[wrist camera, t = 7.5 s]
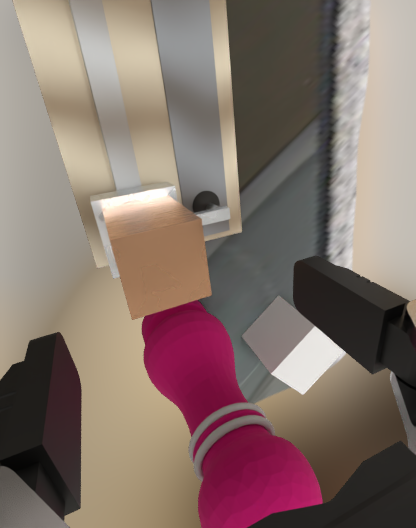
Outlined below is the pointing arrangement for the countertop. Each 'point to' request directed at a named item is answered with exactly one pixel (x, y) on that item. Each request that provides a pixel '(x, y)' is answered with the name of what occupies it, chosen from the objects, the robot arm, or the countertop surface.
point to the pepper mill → (223, 423)
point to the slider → (155, 246)
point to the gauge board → (138, 100)
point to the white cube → (291, 345)
